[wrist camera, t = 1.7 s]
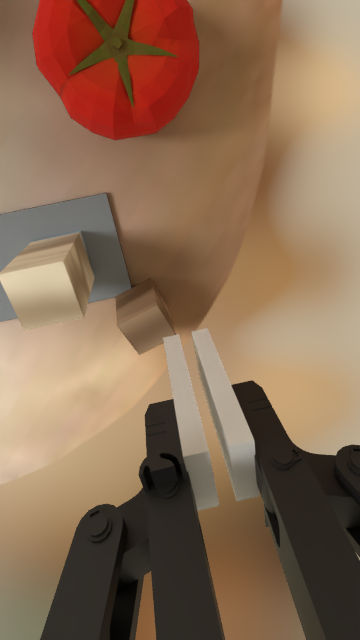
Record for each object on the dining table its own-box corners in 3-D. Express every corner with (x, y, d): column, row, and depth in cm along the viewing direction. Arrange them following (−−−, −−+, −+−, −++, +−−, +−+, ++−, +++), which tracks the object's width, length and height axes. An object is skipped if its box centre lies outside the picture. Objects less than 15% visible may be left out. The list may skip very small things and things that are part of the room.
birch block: (32, 240, 33) (-3, 274, 24) (80, 230, 33) (63, 261, 24) (50, 285, 35) (24, 330, 27) (95, 275, 36) (83, 317, 27)
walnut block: (115, 296, 37) (117, 325, 32) (150, 278, 37) (157, 305, 32) (135, 323, 40) (139, 354, 35) (168, 307, 39) (176, 336, 34)
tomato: (197, 126, 31) (220, 120, 23) (71, 149, 30) (50, 150, 22) (180, -30, 25) (202, -108, 18) (27, -6, 25) (-21, -76, 17)
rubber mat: (-86, 231, 32) (-88, 232, 31) (106, 192, 32) (106, 193, 32) (-31, 326, 37) (-32, 328, 37) (132, 291, 38) (132, 293, 37)
